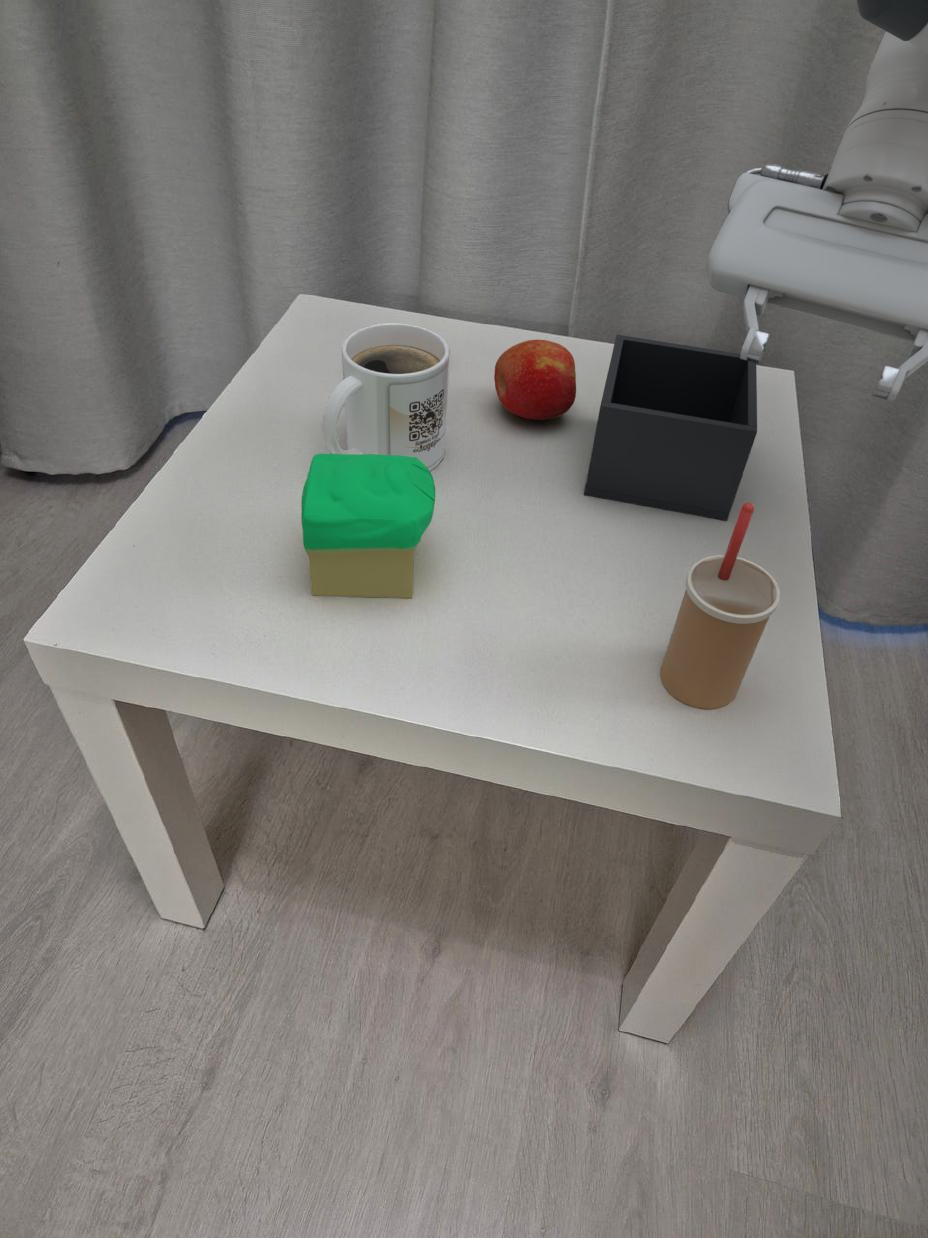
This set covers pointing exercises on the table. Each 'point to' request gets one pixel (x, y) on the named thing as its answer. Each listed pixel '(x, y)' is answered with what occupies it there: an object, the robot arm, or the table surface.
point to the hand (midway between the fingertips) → (815, 377)
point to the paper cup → (718, 624)
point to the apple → (536, 379)
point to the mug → (392, 393)
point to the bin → (674, 427)
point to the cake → (365, 523)
